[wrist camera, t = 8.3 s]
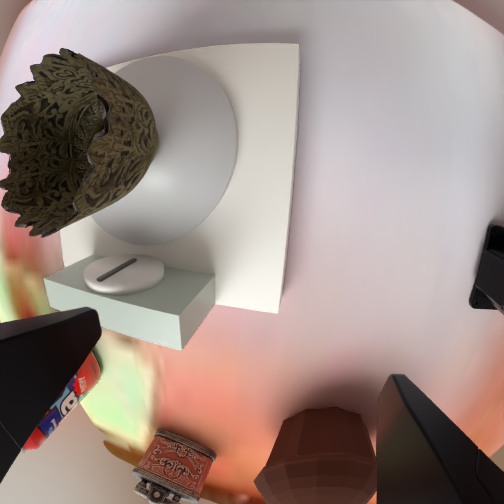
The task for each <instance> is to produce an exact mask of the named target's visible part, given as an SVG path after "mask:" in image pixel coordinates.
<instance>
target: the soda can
mask: <svg viewBox="0 0 504 504" xmlns="http://www.w3.org/2000/svg"><path fill="white" fill-rule="evenodd" d="M100 377H101V372H100V368H99V365H98V362H97V360H96V358H95V356H94V354H93V352H92V351H91V352H90V354H89V355H88V357H87V359H86V360H85V362H84V363H83V365H82V366H81V368H80V369H79V371H78V372H77V373H76V375H75V376H74V377H73V379H72V380H71V381H70V382H69V384H68V385H67V386H66V388H65V389H64V390H63V392H62V393H61V394H60V396H59V397H58V398H57V400H56V401H55V402H54V404H53V405H52V406H51V408H50V409H49V410H48V412H47V413H46V415H45V416H44V417H43V419H42V420H41V422H40V423H39V424H38V426H37V427H36V429H35V430H34V432H33V433H32V435H31V436H30V437H29V439H28V440H27V442H26V443H25V445H24V446H23V448H22V449H21V452H23V453H24V452H25V450H28V449H37V448H39V446H40V445H41V444H42V443H43V442H44V441H45V440H46V439H47V438H48V437H49V435H50V434H51V433H52V432H53V431H54V430H55V429H56V428H57V427H58V425H59V424H60V423H61V422H62V421H63V420H64V419H65V418H66V417H67V416H68V415H69V413H70V412H71V411H72V410H73V409H74V408H75V407H76V406H77V405H78V403H80V401H81V400H82V399H83V398H84V397H85V396H86V395H87V394H88V393H89V392H90V391H91V390H92V389H93V388H94V386H95V385H96V384H97V383H98V382H99V380H100Z"/></svg>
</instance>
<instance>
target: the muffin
mask: <svg viewBox="0 0 504 504" xmlns="http://www.w3.org/2000/svg"><path fill="white" fill-rule="evenodd" d="M254 483H255V485H256V487H257V489H258V491H259V492H260V493H261V495H262V497H263V498H264V500H265V502H266V503H267V504H367V503H368V501H369V500H370V499H371V498H372V496H373V495H374V494H375V492H376V491H377V466H376V456H375V453H374V450H373V446H372V443H371V440H370V437H369V434H368V431H367V428H366V427H365V426H364V424H363V423H362V420H361V417H360V414H356V413H351V412H347V411H345V410H343V409H340V408H338V407H331V408H325V409H305V410H304V411H302V412H301V413H299V414H298V415H296V416H294V417H291V418H289V419H286V420H284V421H283V424H282V426H281V429H280V432H279V434H278V437H277V439H276V442H275V444H274V447H273V449H272V452H271V454H270V456H269V459H268V461H267V463H266V466H265V467H264V468H263V469H262V470H261V472H260V473H259V474H258V476H257V477H256V479H255V480H254Z"/></svg>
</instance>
